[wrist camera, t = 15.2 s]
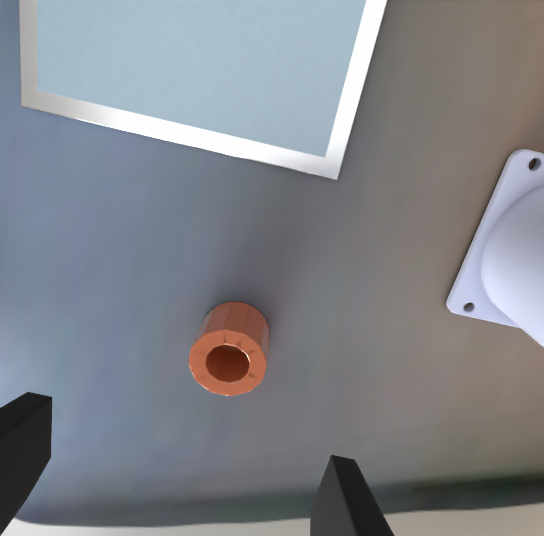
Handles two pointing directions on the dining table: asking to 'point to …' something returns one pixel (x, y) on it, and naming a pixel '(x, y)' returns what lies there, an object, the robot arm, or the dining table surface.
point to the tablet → (207, 71)
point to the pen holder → (230, 349)
